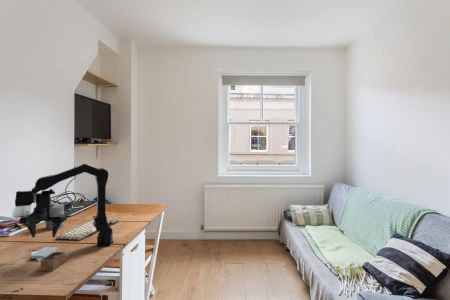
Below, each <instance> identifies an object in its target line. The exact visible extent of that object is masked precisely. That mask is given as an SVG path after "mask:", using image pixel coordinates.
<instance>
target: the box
mask: <svg viewBox="0 0 450 300" xmlns="http://www.w3.org/2000/svg"><path fill="white" fill-rule="evenodd" d="M65 255H66V253H65V251H55V252H53V253H51V254H50V255H48V256H47V257H45V258H44V259H42V260H41V261H40V272H54V271H55V270H56V268H57V269H58V268H59V267H60V266H62V265H63V264H64V263H66V259H65V258H66V256H65ZM53 270H54V271H53Z"/></svg>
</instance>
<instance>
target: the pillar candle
mask: <svg viewBox="0 0 450 300" xmlns="http://www.w3.org/2000/svg"><path fill="white" fill-rule="evenodd" d="M51 205H52V207H51V213H52V216H51V217H54V216H56V215H58V214H65V205H64V204H61V203H60V204H59V203H57V204H56V203H55V204H51ZM51 224H52V222H51V221H45V230H47V231H52V225H51ZM64 226H65V221H64V222H63V223H61V225H60V227H59V228H58V230H59V229H63V228H64Z"/></svg>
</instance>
